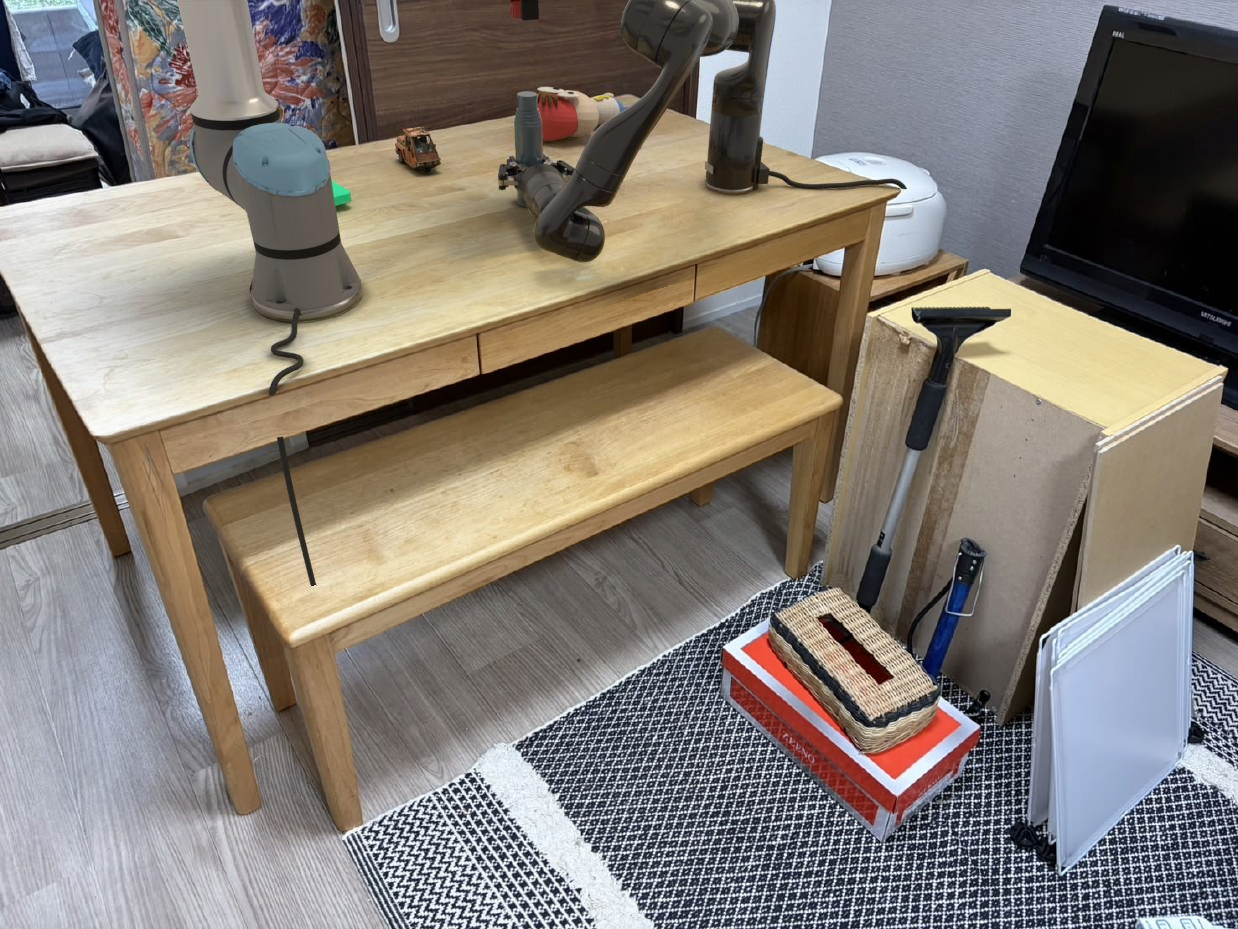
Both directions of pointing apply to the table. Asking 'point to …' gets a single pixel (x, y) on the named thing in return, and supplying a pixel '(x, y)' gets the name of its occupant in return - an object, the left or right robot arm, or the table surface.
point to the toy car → (417, 149)
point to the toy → (573, 112)
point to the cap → (515, 9)
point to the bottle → (528, 133)
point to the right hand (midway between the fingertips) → (526, 160)
